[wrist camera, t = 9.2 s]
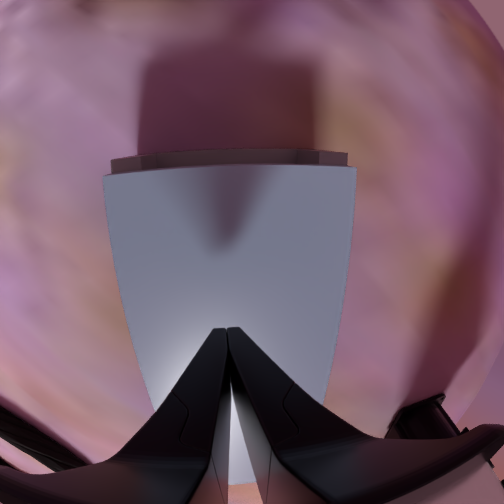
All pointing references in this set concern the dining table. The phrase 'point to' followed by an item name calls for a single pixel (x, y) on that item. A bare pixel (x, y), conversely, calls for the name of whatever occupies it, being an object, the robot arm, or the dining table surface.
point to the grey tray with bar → (227, 158)
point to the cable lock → (35, 444)
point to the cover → (233, 268)
